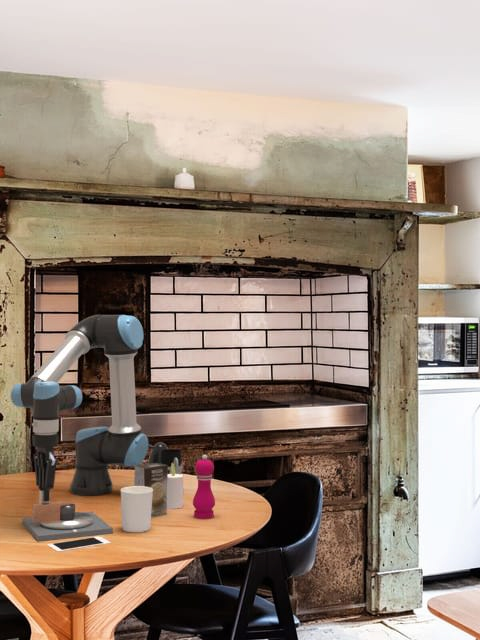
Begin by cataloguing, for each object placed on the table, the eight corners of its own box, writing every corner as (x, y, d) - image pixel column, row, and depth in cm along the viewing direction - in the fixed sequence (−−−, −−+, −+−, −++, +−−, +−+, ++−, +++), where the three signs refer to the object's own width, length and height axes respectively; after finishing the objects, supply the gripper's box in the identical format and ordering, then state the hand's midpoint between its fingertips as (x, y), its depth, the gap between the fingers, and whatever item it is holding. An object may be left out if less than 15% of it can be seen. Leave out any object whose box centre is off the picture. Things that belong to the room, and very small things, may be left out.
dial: (85, 513, 257) (85, 494, 257) (100, 526, 243) (100, 505, 243) (27, 519, 249) (27, 499, 249) (39, 532, 235) (39, 510, 235)
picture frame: (179, 488, 304) (179, 448, 304) (188, 497, 291) (189, 455, 290) (156, 489, 301) (156, 449, 301) (164, 498, 288) (165, 455, 288)
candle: (187, 506, 276) (187, 462, 276) (172, 509, 271) (173, 464, 271) (174, 503, 280) (175, 459, 280) (160, 506, 276) (161, 462, 275)
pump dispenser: (149, 478, 322) (150, 439, 322) (175, 479, 320) (176, 440, 320) (143, 483, 312) (143, 443, 312) (169, 484, 310) (170, 445, 310)
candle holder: (138, 535, 240) (139, 494, 240) (113, 529, 245) (113, 490, 245) (159, 528, 248) (159, 488, 248) (134, 523, 254) (134, 484, 253)
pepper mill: (218, 514, 266) (219, 453, 265) (210, 520, 259) (211, 457, 258) (197, 512, 268) (198, 452, 268) (189, 517, 261) (190, 455, 261)
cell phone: (111, 544, 231) (111, 542, 231) (57, 553, 222) (57, 551, 222) (99, 538, 238) (99, 535, 238) (46, 546, 228) (46, 544, 228)
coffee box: (145, 518, 259) (145, 468, 259) (132, 514, 264) (133, 465, 264) (167, 514, 266) (168, 464, 265) (155, 510, 270) (156, 462, 270)
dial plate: (91, 516, 261) (91, 511, 261) (112, 533, 241) (112, 527, 241) (22, 522, 251) (22, 517, 251) (38, 541, 232) (38, 535, 232)
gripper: (25, 431, 249) (24, 508, 249) (42, 436, 239) (41, 517, 239) (48, 429, 254) (47, 505, 254) (66, 434, 243) (65, 513, 243)
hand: (44, 510), depth 246 cm, fingers closed
